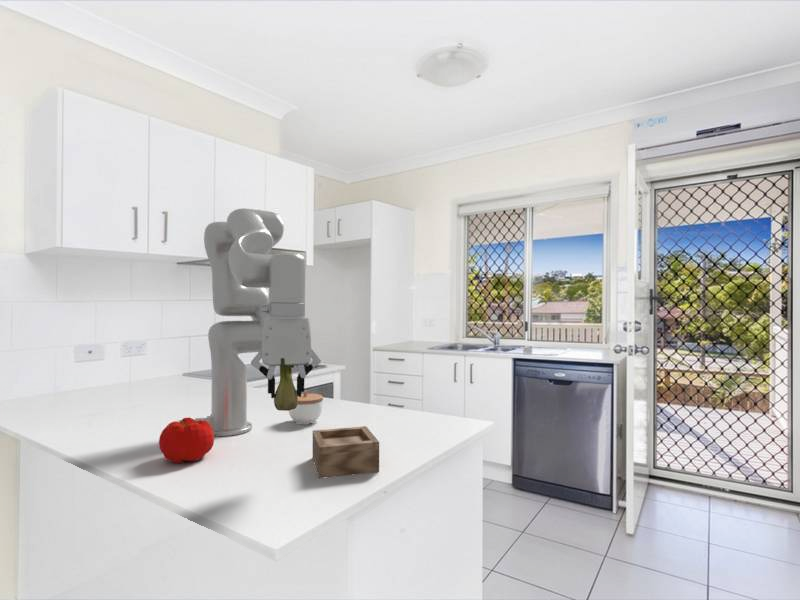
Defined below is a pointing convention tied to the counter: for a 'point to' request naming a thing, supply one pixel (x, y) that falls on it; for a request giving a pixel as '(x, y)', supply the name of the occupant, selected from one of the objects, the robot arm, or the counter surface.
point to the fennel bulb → (285, 389)
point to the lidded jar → (307, 408)
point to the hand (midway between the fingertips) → (286, 395)
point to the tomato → (186, 440)
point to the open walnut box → (345, 451)
